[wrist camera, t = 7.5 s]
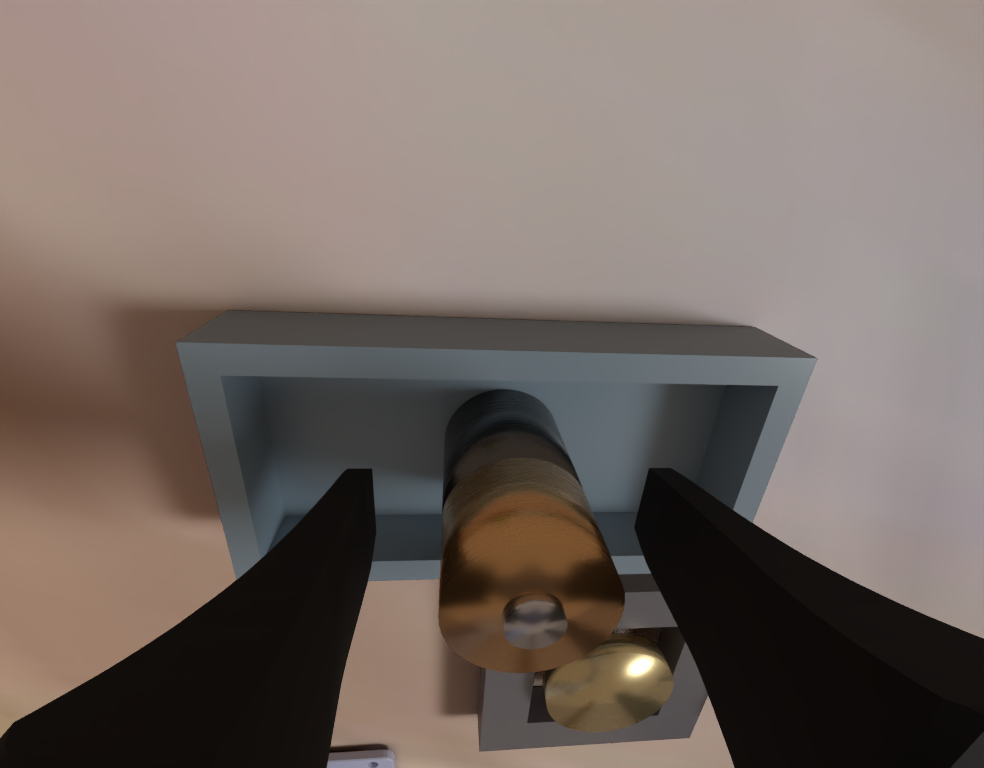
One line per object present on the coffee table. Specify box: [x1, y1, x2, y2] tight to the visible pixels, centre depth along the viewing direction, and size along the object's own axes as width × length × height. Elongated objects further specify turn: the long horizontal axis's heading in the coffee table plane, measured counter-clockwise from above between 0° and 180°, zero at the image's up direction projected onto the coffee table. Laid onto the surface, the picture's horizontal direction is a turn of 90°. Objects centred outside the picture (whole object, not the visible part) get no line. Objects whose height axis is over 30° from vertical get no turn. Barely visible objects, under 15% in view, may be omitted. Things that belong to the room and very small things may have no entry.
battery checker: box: [478, 574, 708, 752], centre depth 19 cm, size 14×10×3 cm
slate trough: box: [175, 310, 818, 581], centre depth 13 cm, size 16×8×3 cm, turn 87°
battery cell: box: [438, 389, 625, 673], centre depth 11 cm, size 4×4×6 cm
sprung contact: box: [543, 633, 674, 732], centre depth 18 cm, size 5×5×1 cm
